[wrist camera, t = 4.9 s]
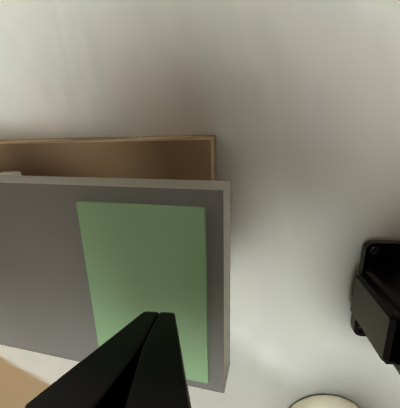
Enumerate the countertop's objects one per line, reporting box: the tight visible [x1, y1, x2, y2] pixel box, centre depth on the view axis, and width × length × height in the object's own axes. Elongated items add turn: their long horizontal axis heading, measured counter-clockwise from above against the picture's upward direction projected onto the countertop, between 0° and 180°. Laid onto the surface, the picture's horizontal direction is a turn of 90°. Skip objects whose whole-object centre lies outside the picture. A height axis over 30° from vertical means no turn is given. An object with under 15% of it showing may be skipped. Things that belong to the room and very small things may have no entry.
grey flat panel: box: [0, 171, 230, 393], centre depth 12 cm, size 18×7×2 cm, turn 93°
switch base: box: [0, 135, 216, 181], centre depth 15 cm, size 16×9×6 cm, turn 92°
